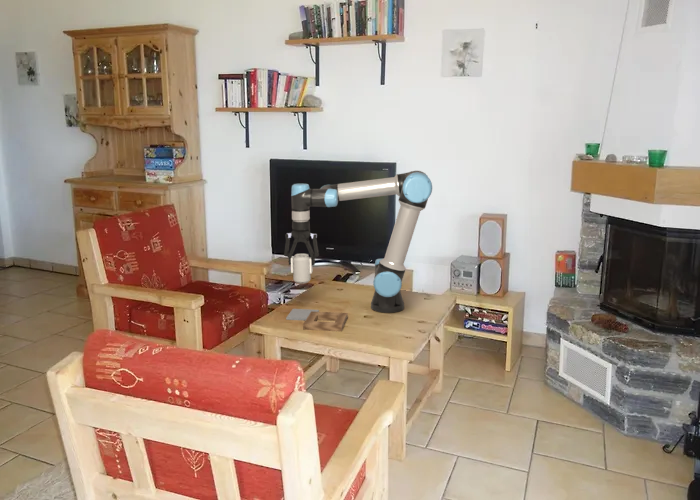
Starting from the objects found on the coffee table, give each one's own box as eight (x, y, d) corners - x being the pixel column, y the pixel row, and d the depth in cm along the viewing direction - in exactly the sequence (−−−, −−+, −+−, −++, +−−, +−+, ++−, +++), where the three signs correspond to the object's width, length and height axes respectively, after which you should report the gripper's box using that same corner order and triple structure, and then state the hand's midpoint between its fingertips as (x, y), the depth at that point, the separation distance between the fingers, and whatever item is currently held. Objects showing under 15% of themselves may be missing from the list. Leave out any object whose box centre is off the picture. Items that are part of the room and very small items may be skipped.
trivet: (319, 311, 265) (318, 309, 265) (313, 320, 254) (313, 318, 253) (292, 310, 267) (292, 308, 267) (286, 319, 255) (286, 317, 255)
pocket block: (347, 318, 257) (347, 313, 256) (341, 331, 241) (341, 325, 241) (311, 316, 259) (311, 311, 258) (303, 329, 243) (303, 323, 243)
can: (297, 284, 252) (296, 257, 249) (290, 280, 258) (290, 253, 256) (313, 282, 255) (313, 255, 253) (306, 278, 262) (306, 252, 259)
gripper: (326, 219, 253) (326, 270, 258) (279, 218, 256) (281, 269, 261) (322, 222, 246) (323, 275, 251) (275, 221, 249) (276, 273, 254)
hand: (301, 272), depth 256 cm, fingers closed on can, 7 cm apart
